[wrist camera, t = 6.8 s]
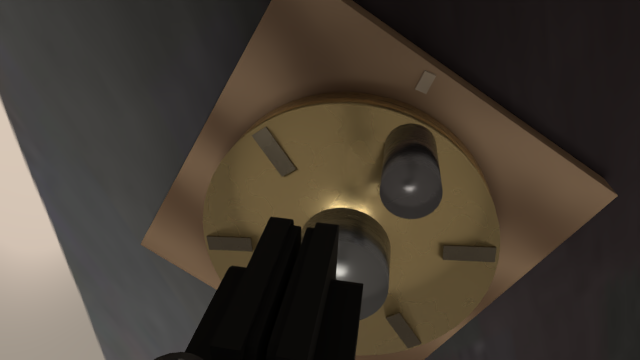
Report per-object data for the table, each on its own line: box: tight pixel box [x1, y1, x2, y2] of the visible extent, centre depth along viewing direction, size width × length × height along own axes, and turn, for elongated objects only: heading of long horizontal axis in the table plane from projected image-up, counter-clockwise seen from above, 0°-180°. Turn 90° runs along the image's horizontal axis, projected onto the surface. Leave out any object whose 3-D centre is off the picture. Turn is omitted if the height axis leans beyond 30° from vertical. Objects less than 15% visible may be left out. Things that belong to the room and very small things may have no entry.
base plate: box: [141, 0, 618, 360], centre depth 28 cm, size 20×20×2 cm
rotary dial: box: [203, 92, 500, 355], centre depth 24 cm, size 16×16×7 cm
